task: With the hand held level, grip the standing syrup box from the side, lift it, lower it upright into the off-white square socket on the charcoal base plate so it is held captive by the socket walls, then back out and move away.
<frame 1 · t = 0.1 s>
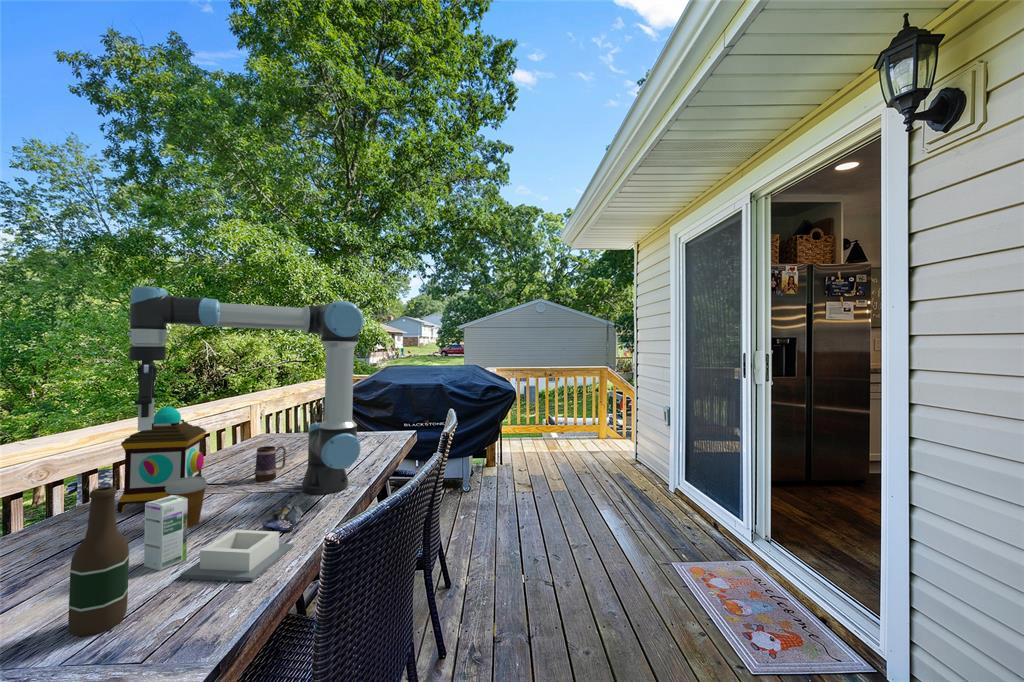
hand: (146, 426, 118), 28 cm above the table, tool pointing down, fingers open, 13 cm apart
beer bottle: (98, 625, 80), on the table
decorative lantern: (164, 502, 141), on the table
disposable coffee cup: (185, 525, 124), on the table
snack package: (287, 526, 125), on the table
syrup box: (165, 564, 102), on the table
socket holder: (241, 562, 103), on the table
mug: (270, 479, 167), on the table
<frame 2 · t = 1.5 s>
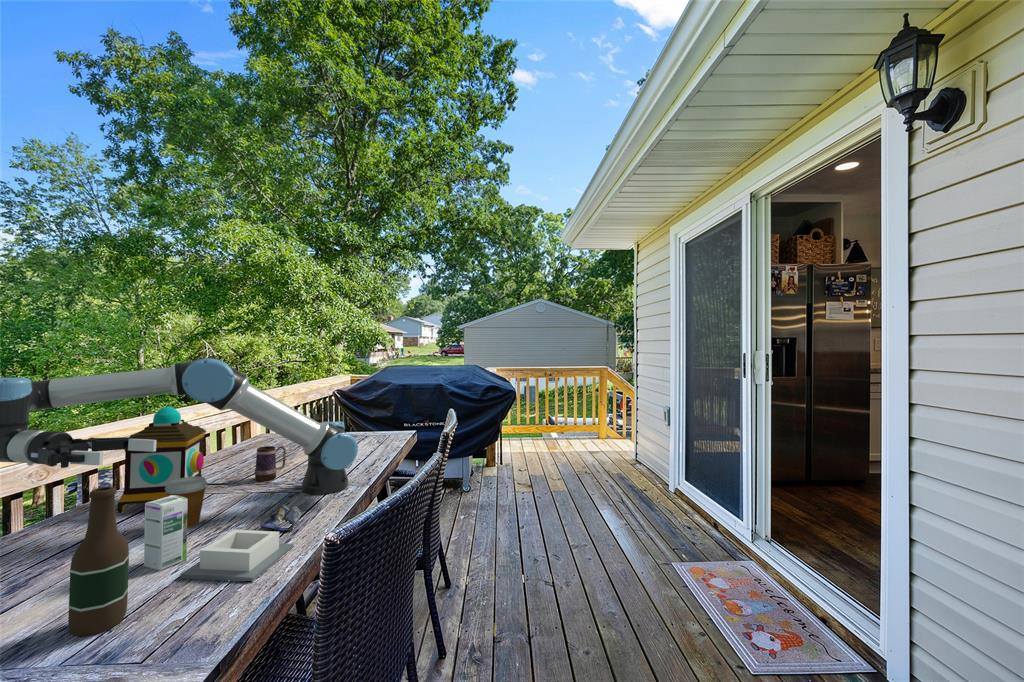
hand: (130, 451, 103), 25 cm above the table, tool horizontal, fingers open, 13 cm apart
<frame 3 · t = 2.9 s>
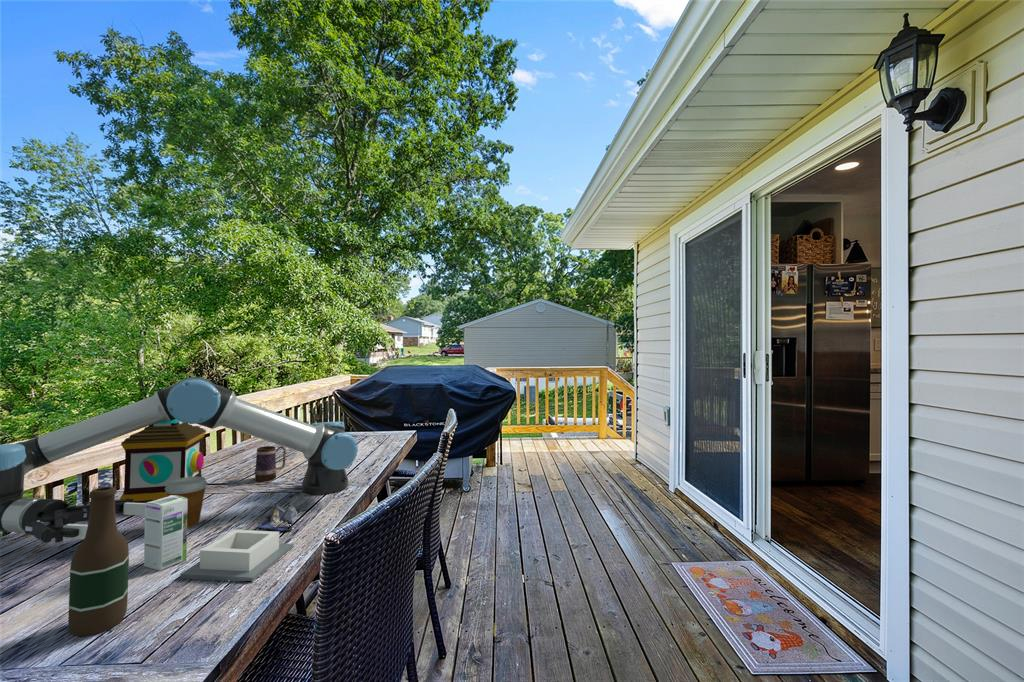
hand: (125, 520, 103), 9 cm above the table, tool horizontal, fingers open, 13 cm apart
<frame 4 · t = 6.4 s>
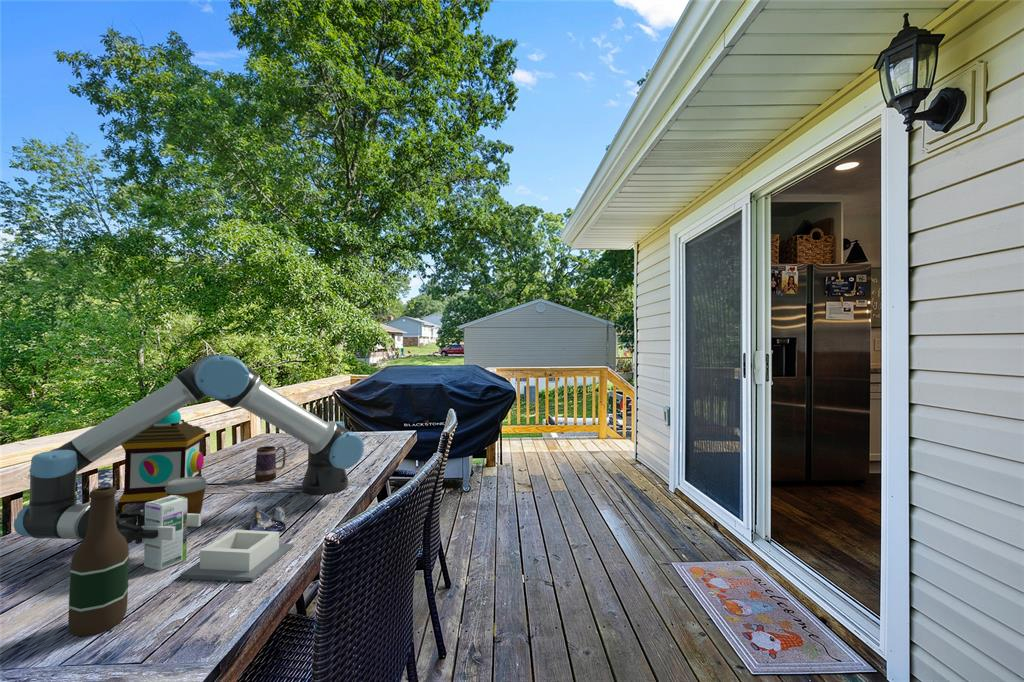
hand: (187, 526, 102), 9 cm above the table, tool horizontal, fingers closed on syrup box, 7 cm apart
snack package: (269, 528, 124), on the table
syrup box: (165, 564, 102), on the table, touching gripper
everything else where it was.
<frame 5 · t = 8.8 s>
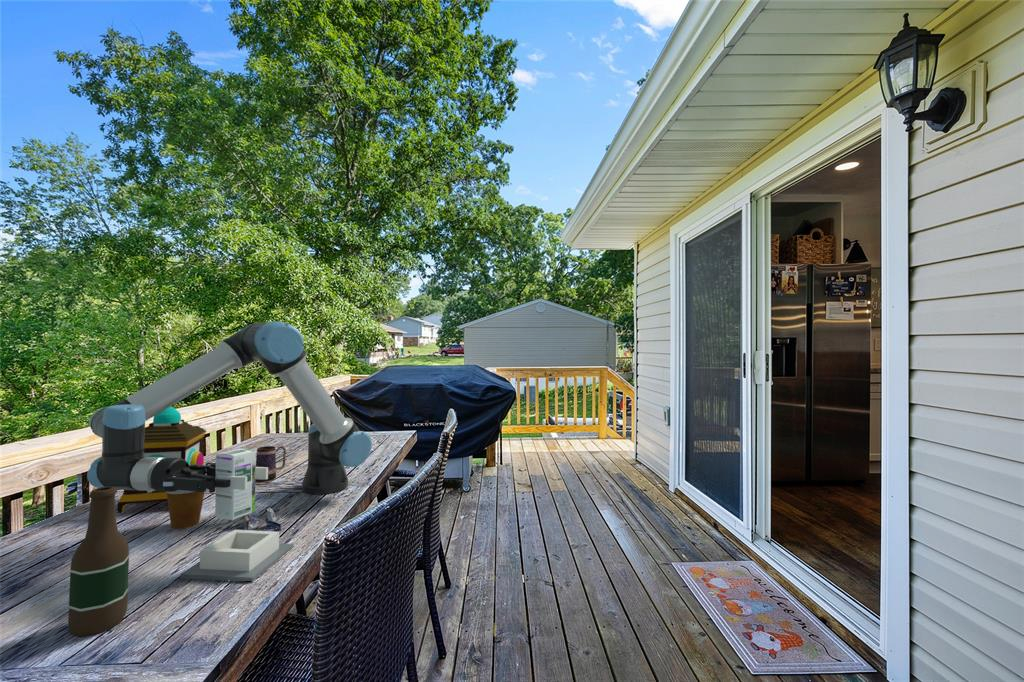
hand: (256, 478, 103), 20 cm above the table, tool horizontal, fingers closed on syrup box, 7 cm apart
snack package: (260, 530, 122), on the table
syrup box: (234, 515, 103), point 11 cm above the table, touching gripper
everything else where it was.
when the fingers open (11 cm above the table, at t = 11.4 s): syrup box drops 1 cm, resting on socket holder.
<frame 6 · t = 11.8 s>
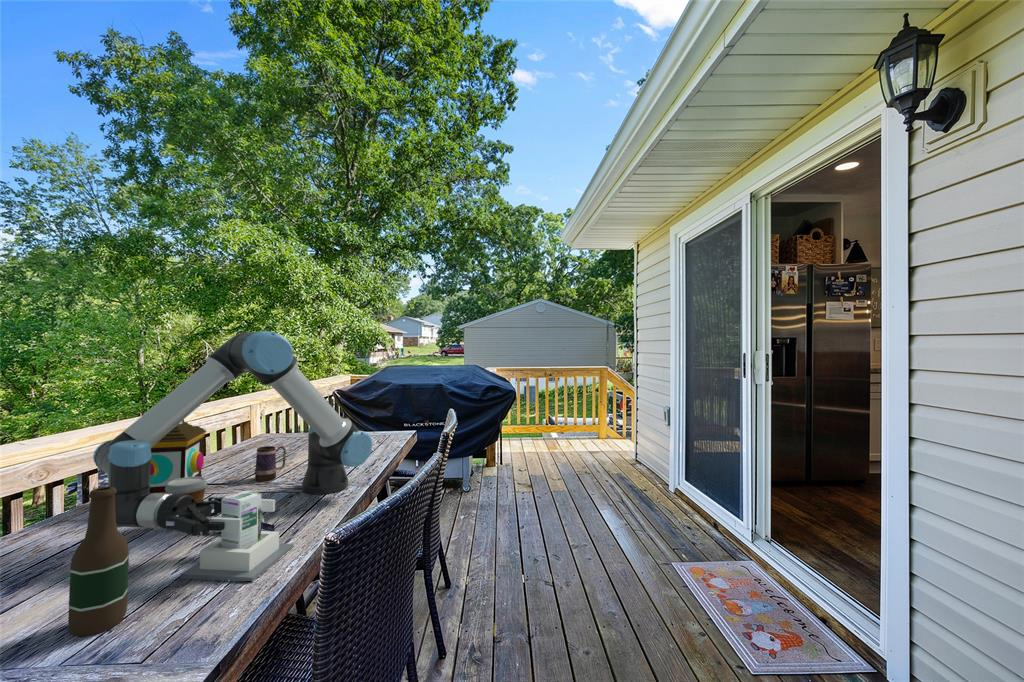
hand: (258, 515, 103), 11 cm above the table, tool horizontal, fingers open, 11 cm apart
snack package: (250, 533, 120), on the table
syrup box: (240, 559, 103), point 1 cm above the table, touching socket holder
everything else where it was.
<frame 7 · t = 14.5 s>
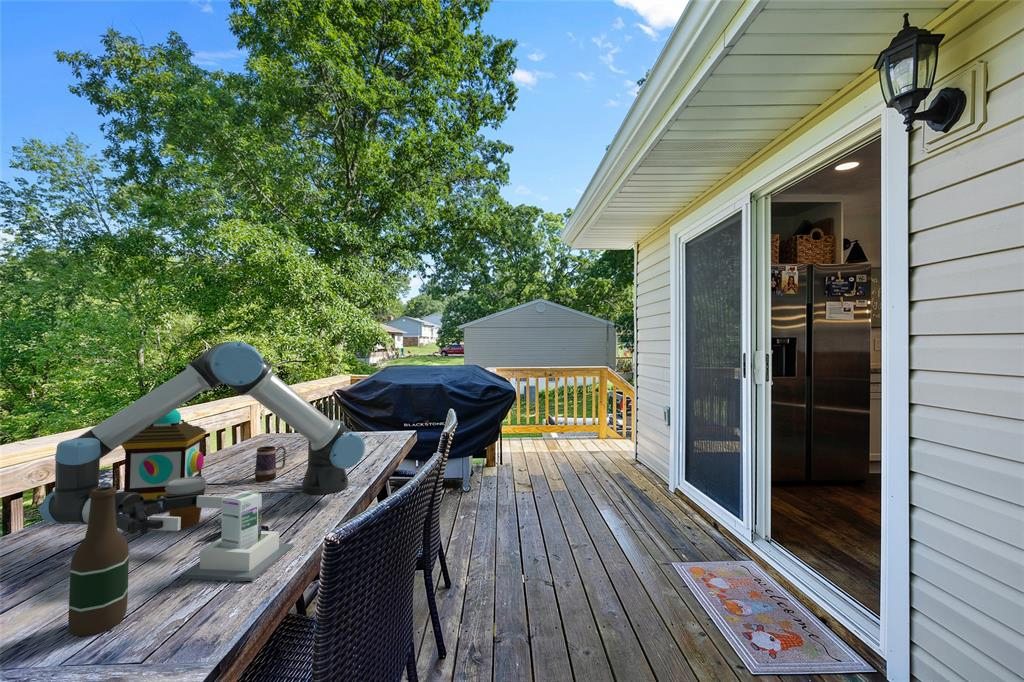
hand: (202, 512, 104), 11 cm above the table, tool horizontal, fingers open, 13 cm apart
snack package: (242, 536, 118), on the table
everything else where it was.
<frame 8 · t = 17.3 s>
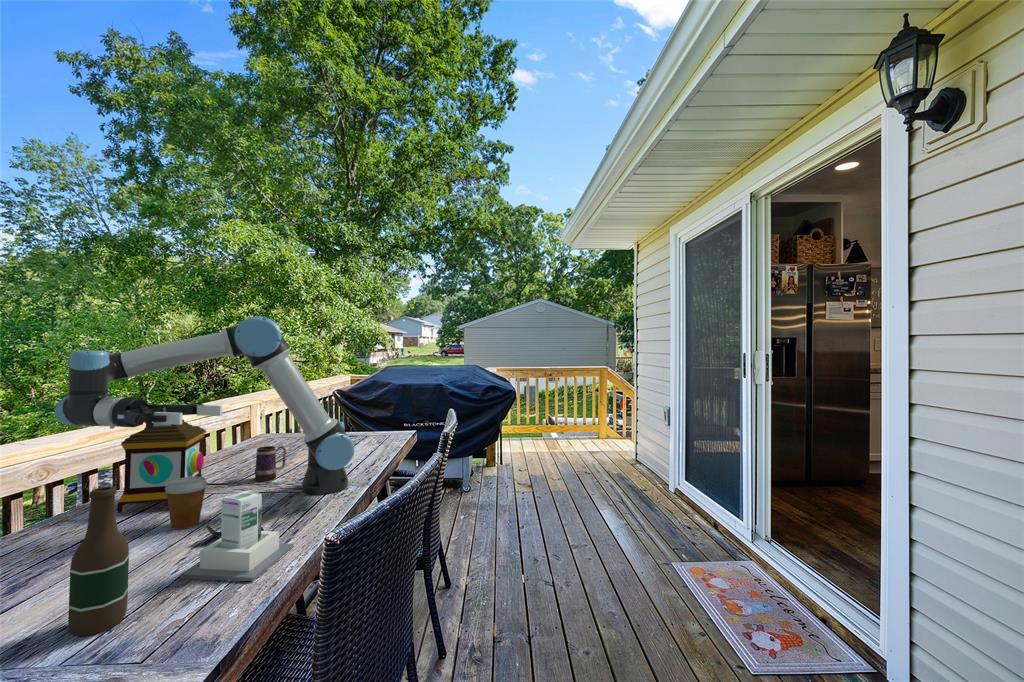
hand: (202, 414, 114), 32 cm above the table, tool horizontal, fingers open, 13 cm apart
snack package: (236, 540, 116), on the table
everything else where it was.
at the end: syrup box 0.1 cm off-centre on the socket holder, point 0.8 cm above the socket holder's base; syrup box tilted 0°; the gripper is holding nothing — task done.
